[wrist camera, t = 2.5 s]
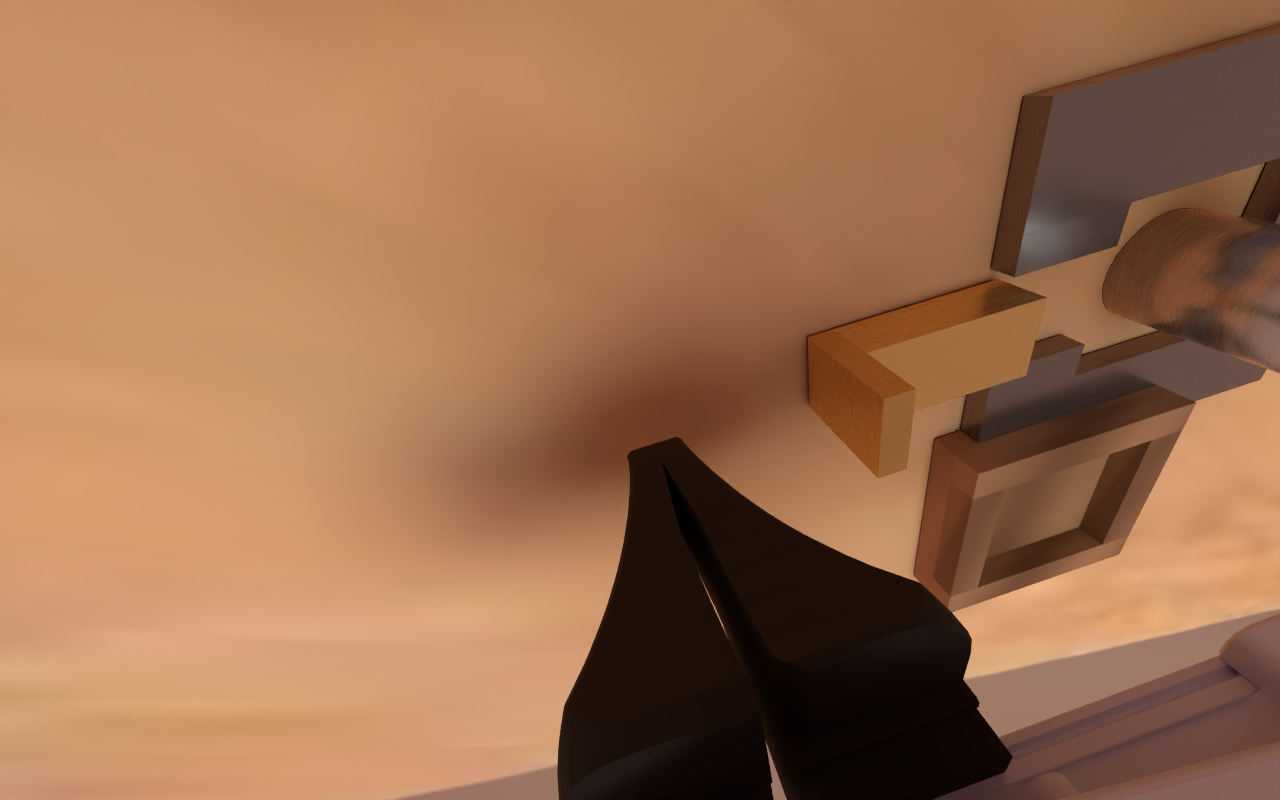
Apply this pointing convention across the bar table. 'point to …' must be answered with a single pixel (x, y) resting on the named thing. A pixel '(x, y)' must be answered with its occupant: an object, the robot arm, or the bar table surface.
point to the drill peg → (1204, 282)
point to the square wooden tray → (1042, 496)
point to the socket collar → (1099, 203)
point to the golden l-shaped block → (918, 364)
